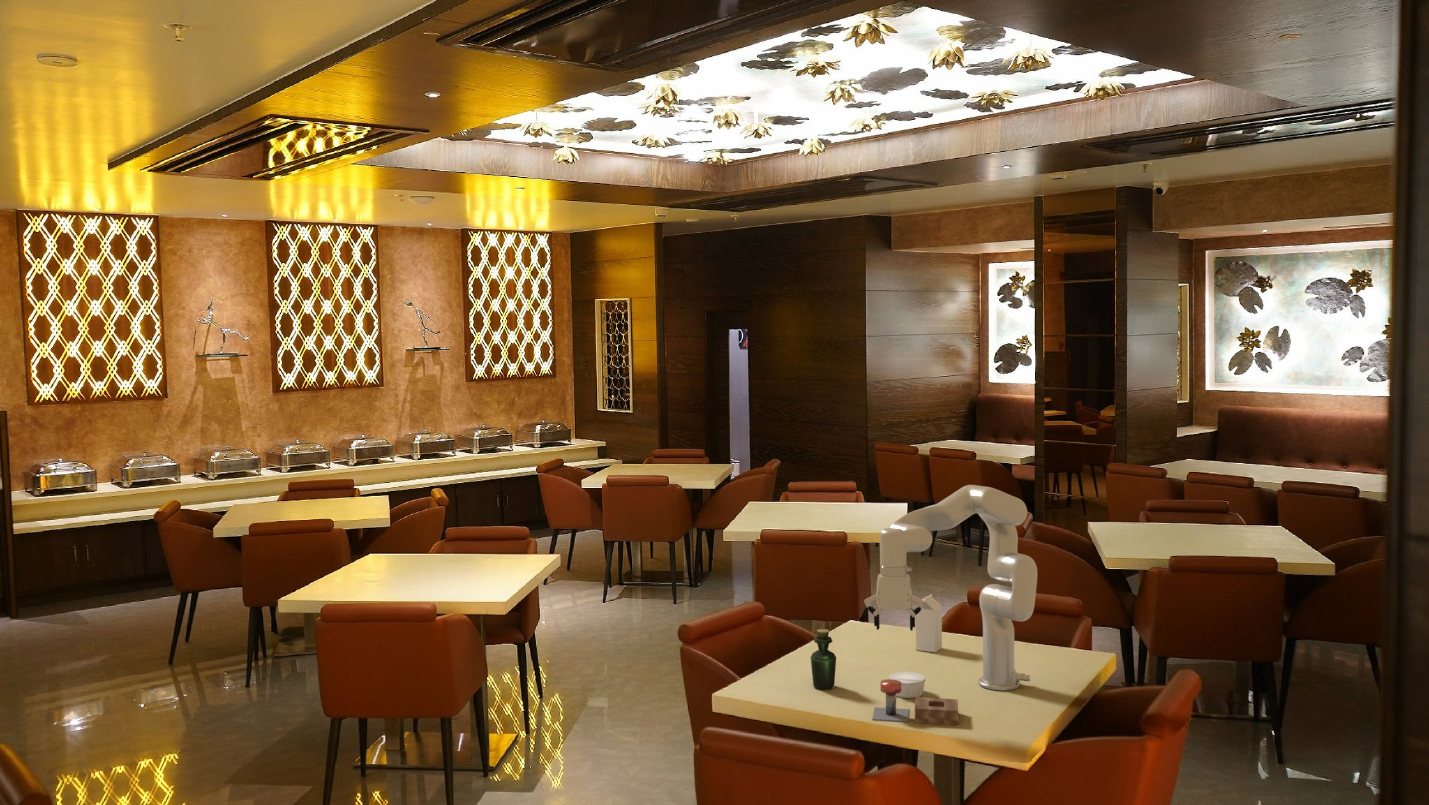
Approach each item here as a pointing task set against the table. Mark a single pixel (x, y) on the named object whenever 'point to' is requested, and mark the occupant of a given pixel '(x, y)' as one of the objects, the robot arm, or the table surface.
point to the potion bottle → (823, 662)
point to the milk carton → (929, 626)
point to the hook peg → (890, 694)
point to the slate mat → (881, 715)
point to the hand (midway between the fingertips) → (894, 629)
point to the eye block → (936, 711)
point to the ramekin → (909, 684)
